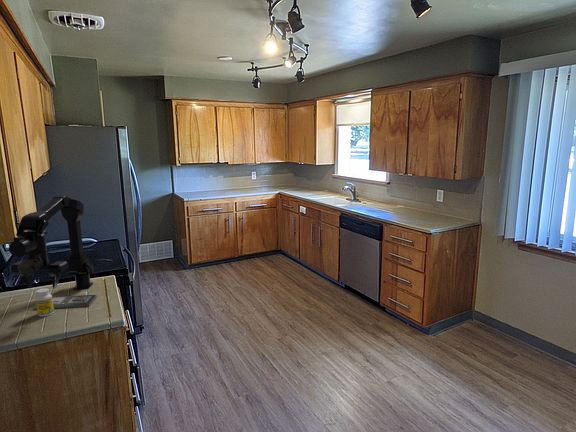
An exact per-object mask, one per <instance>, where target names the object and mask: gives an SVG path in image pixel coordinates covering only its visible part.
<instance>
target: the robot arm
mask: <svg viewBox="0 0 576 432" xmlns="http://www.w3.org/2000/svg"><path fill="white" fill-rule="evenodd" d="M84 208H85V207H84V204H83V203H82V201H80V200H76V199H74V198H73V199H72V198H70V197H68V196H66V195H56V196H53V197H52V199H51V200H50V201H48V202H47V203H46V204H45V205H44V206H42V207H41V208H40V209H39V210H37V211H35V212H30V213H27V214H25V215H24V216H22V217H21V219H20V222H19V225H18V228H17V231H16V234H15V236H14V237H13V241H12V242H10V243H9V246H8V251H9V253H10V254H11V255H12V256H13V257H16V258H21V257H23V256H25V259H24V260H19V261H17V262H15V263H12V264H11V265H10V267H9V269H10V272H11V273H14V275H18V276H20V277H21V278H22V279H23V281H24V282H25V284H26V286H27V287H28V289H32V288H33V286H34V285H33V277H34V276H33V274H35V272H36V271H40V270H48V272H49V273H48V275H49V276H50V277H51V284H52V289H54V290H55V289H56V288H57V286H58V284H59V281H60V278H61V276H62V274H63V272H65V271H66V270H68V274H69V276H74V278H75V279H74V280H75V286H73V290H83V289H84V290H85V289H90V287H92V286H93V284H94V282H93V281H92V282H91V278H90V276H91V275H93V274H94V272H95V266H93V265H92V263H91V262H90V259H89V256H88V255H87V254H86V252H84V245H83V237H82V236H83V235H82V228H81V227H82V225H81V220H82V217H83V216H84V210H85V209H84ZM59 212H60V213H61V216H62V217H63V219H64V220H65V221H66V224H67V232H68V242H69V249H70V255H69V256H68V258H66V260H65V261H64V260H59V261H55V262H53V263H51V259H49V257H48V253H50V249H49V248H47V241H46V235H48V233H49V232H48V231H47V230H46V228H47V227H48V225H50V219H52V217H54V216H55V215H56V214H57V213H59Z"/></svg>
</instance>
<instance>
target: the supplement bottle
mask: <svg viewBox="0 0 576 432" xmlns="http://www.w3.org/2000/svg"><path fill="white" fill-rule="evenodd" d="M52 297H53V295H52V294H51V293H50V290H49V288H40V289H38V290H36V296H35V299H34V300H35V306H36V307H37V309H36V312H37V316H38V317H47V316H50V315H53V314H54V312H55V308H54V307H53V300H52Z"/></svg>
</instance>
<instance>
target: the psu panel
mask: <svg viewBox="0 0 576 432" xmlns="http://www.w3.org/2000/svg"><path fill="white" fill-rule="evenodd" d="M97 297H98V295H97V294H86V295H85V294H84V295H82V294H81V295H68V296H67V295H66V296H52V300H53V307H54V309H66V308H67V309H69V308H85V307H90V306H91V305H92V304H93V302H95V300H96V299H97ZM34 310H35V311H37V307H36V305H35V306H34Z"/></svg>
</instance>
